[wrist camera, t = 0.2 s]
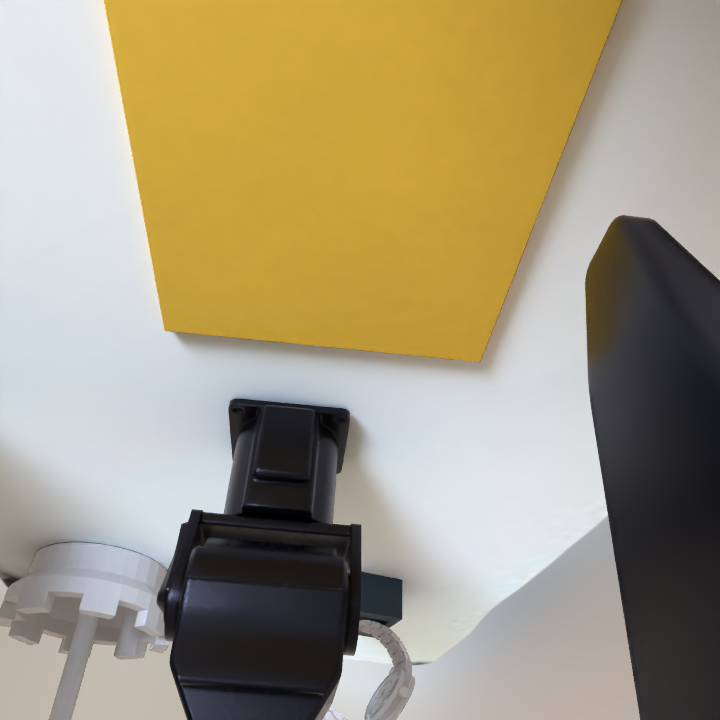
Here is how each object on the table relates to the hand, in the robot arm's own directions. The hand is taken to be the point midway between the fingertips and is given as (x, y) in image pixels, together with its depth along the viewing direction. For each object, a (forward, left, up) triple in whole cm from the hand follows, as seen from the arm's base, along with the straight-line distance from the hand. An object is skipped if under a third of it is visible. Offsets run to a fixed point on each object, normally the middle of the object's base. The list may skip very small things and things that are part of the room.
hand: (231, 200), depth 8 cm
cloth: (-10, -1, -15) cm, 18 cm away
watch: (-51, -7, -15) cm, 54 cm away
